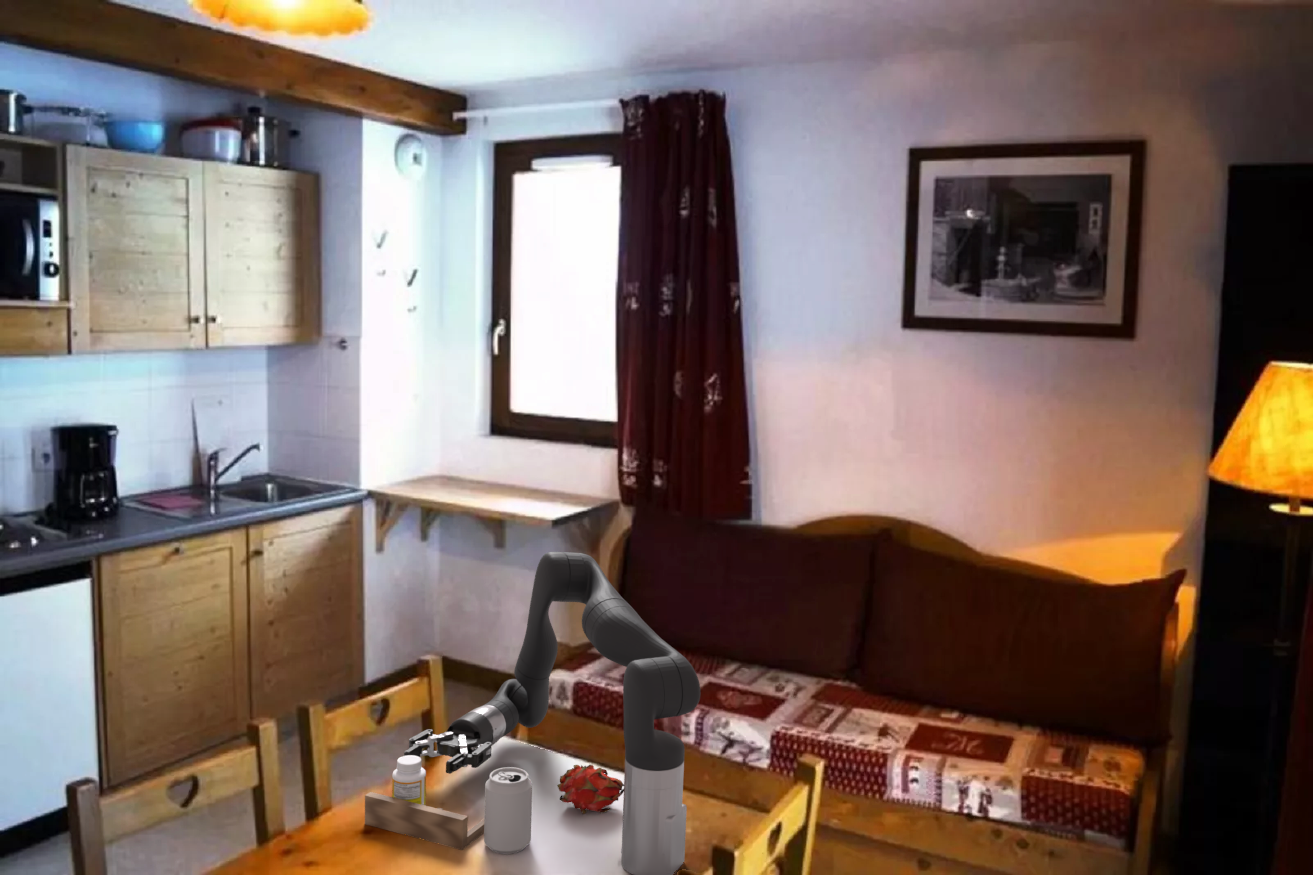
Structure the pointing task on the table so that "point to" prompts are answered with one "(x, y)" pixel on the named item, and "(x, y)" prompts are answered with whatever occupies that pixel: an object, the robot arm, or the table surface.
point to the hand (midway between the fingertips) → (426, 763)
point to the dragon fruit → (589, 788)
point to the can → (508, 810)
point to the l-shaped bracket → (420, 821)
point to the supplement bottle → (409, 780)
